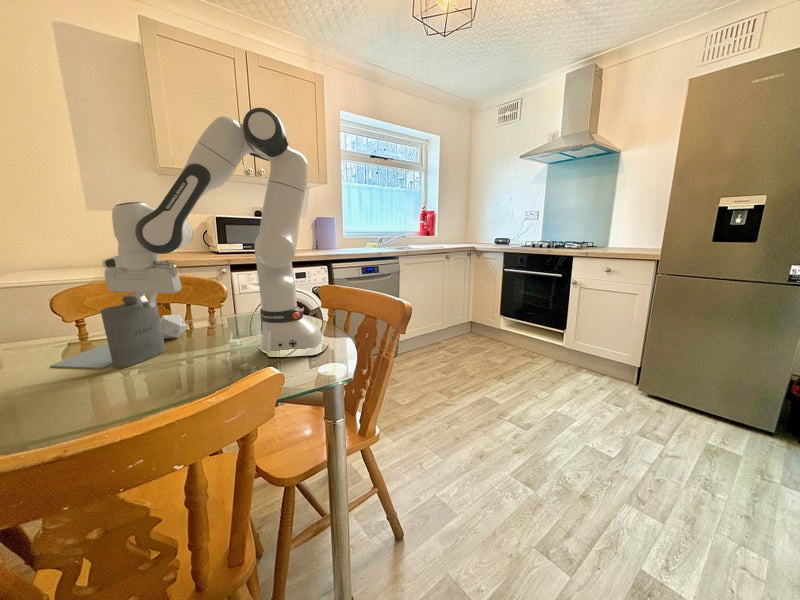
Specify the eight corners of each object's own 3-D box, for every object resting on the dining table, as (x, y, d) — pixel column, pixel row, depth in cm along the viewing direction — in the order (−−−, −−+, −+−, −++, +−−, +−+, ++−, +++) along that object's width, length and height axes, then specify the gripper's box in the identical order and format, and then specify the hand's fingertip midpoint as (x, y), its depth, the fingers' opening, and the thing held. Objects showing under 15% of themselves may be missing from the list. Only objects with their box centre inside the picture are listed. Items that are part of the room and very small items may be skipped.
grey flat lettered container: (124, 369, 92) (109, 303, 87) (109, 367, 94) (93, 301, 89) (171, 349, 106) (160, 291, 101) (157, 348, 108) (146, 290, 103)
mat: (147, 347, 108) (147, 346, 108) (102, 369, 93) (102, 367, 92) (102, 345, 109) (102, 344, 109) (50, 367, 93) (50, 365, 93)
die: (168, 345, 112) (184, 319, 114) (143, 332, 111) (161, 307, 113) (179, 344, 120) (195, 321, 122) (157, 333, 119) (173, 309, 121)
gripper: (182, 260, 95) (189, 305, 98) (116, 258, 96) (125, 303, 99) (166, 263, 88) (174, 310, 92) (96, 261, 89) (106, 308, 93)
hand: (148, 306), depth 95 cm, fingers closed
